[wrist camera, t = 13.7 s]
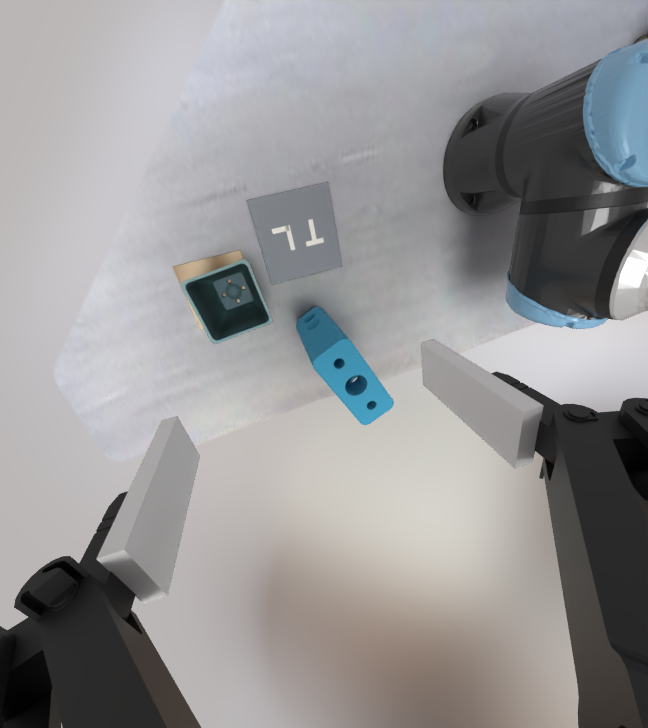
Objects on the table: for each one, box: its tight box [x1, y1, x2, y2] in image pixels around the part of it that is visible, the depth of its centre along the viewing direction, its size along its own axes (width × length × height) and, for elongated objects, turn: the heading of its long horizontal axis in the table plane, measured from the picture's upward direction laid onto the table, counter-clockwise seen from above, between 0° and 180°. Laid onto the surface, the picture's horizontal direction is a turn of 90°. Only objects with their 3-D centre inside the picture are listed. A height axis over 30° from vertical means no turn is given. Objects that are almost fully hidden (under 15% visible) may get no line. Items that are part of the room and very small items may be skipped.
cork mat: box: [173, 250, 245, 330], centre depth 44 cm, size 10×10×1 cm
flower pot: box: [181, 259, 273, 344], centre depth 40 cm, size 9×9×9 cm
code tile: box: [247, 182, 342, 285], centre depth 43 cm, size 12×12×1 cm
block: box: [296, 307, 394, 425], centre depth 42 cm, size 12×5×20 cm, turn 35°
